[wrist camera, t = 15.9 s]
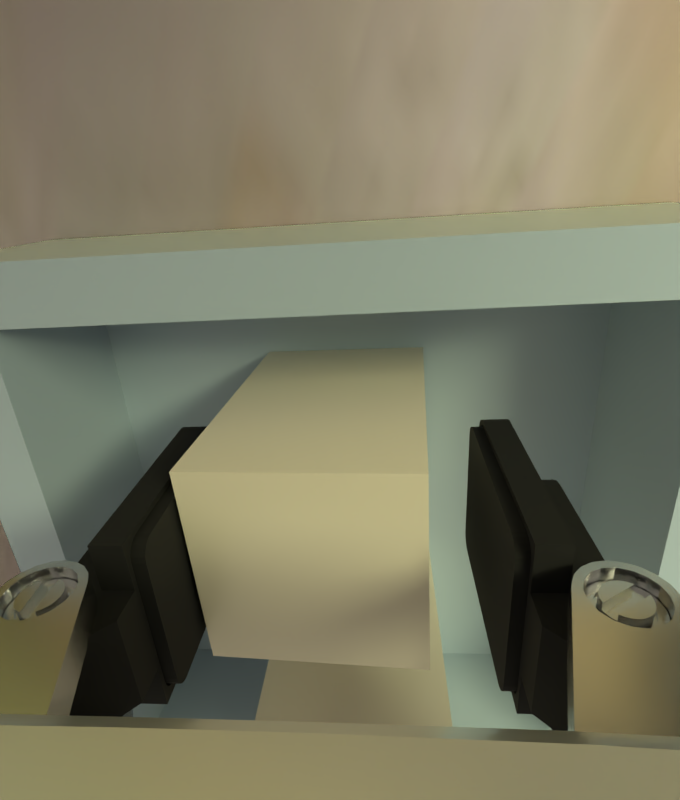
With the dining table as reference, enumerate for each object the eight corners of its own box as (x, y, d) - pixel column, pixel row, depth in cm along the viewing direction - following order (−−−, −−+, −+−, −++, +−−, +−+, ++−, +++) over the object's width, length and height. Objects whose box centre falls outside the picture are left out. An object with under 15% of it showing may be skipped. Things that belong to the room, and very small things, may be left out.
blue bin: (50, 239, 13) (-100, 267, 9) (671, 201, 12) (828, 214, 8) (166, 660, 19) (107, 792, 15) (586, 668, 18) (648, 815, 14)
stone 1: (269, 351, 13) (169, 472, 8) (423, 347, 13) (428, 474, 7) (287, 481, 15) (213, 655, 10) (424, 482, 14) (430, 669, 9)
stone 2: (297, 537, 16) (252, 729, 10) (427, 537, 15) (453, 735, 10) (308, 632, 17) (274, 842, 12) (426, 634, 17) (448, 852, 11)
